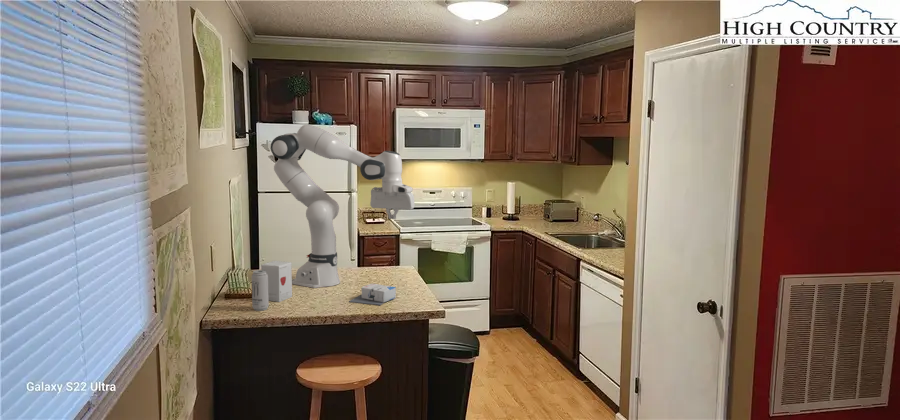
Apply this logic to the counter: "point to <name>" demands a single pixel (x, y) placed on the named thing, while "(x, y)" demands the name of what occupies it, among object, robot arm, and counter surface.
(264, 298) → the energy drink can
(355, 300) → the mat
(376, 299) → the ink box
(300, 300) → the counter surface
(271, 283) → the supplement box
